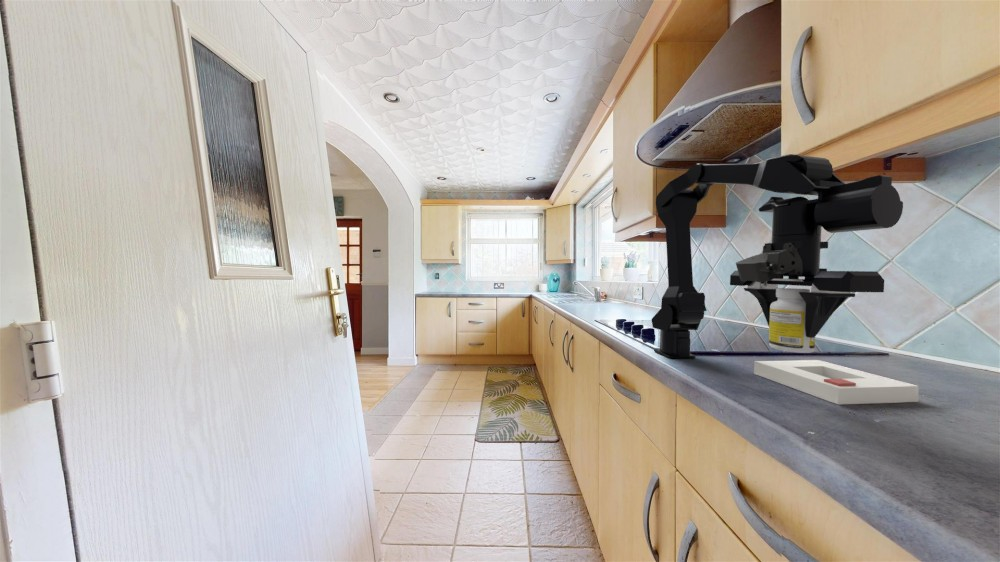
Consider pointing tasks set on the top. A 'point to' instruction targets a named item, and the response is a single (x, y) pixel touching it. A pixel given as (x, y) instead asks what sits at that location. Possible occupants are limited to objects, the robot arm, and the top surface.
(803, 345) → the supplement bottle
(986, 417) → the top surface
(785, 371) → the socket plate
